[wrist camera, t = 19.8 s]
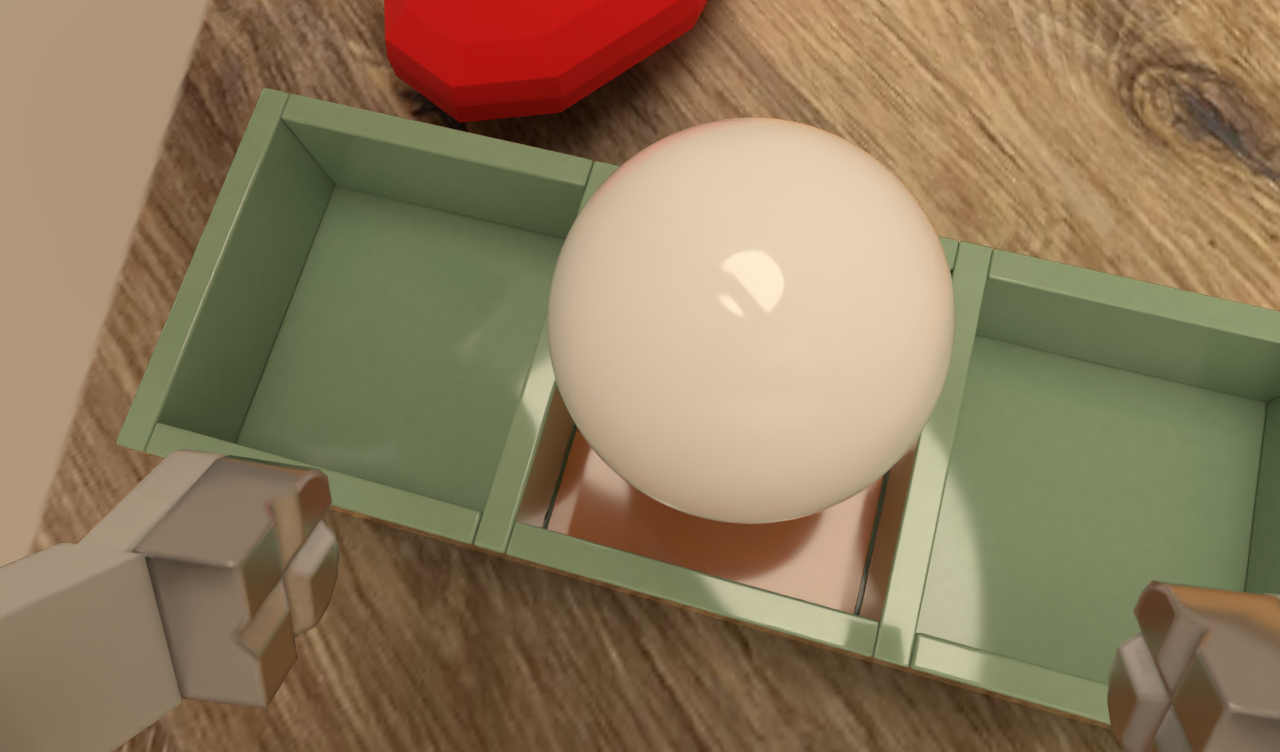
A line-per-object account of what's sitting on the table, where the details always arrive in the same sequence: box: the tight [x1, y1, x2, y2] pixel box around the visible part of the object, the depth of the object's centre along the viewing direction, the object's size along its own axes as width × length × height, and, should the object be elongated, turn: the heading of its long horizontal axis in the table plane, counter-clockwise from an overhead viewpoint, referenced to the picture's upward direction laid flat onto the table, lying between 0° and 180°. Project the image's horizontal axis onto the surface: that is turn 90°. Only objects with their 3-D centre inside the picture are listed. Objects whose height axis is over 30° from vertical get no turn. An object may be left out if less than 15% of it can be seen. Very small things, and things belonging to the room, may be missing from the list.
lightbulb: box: [547, 117, 956, 524], centre depth 18 cm, size 6×6×11 cm
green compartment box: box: [116, 88, 1280, 730], centre depth 22 cm, size 25×9×4 cm, turn 75°
